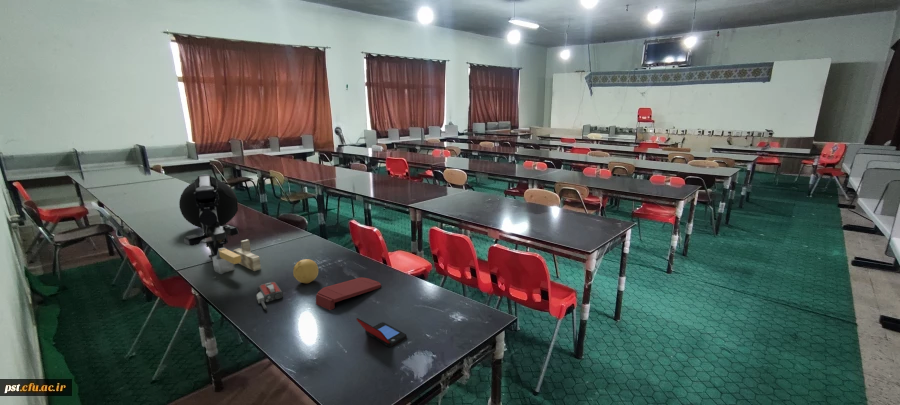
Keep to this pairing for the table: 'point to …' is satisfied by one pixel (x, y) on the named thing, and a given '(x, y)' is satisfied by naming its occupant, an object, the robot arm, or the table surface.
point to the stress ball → (305, 271)
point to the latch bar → (229, 255)
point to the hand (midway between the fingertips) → (215, 254)
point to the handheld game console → (383, 333)
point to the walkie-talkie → (268, 293)
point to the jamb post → (222, 265)
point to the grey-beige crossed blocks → (248, 256)
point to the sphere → (225, 206)
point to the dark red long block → (344, 291)
